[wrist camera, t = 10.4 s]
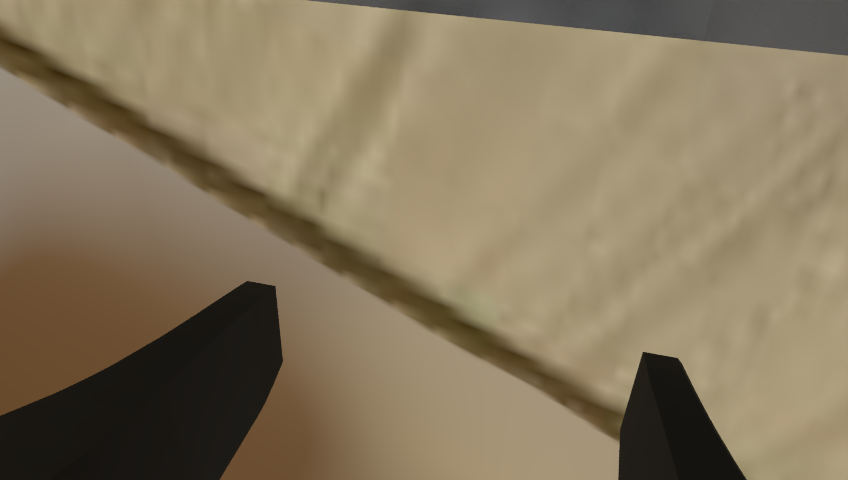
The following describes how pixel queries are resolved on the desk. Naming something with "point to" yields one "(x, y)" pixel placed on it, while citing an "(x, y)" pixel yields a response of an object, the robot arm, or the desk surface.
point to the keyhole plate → (666, 18)
